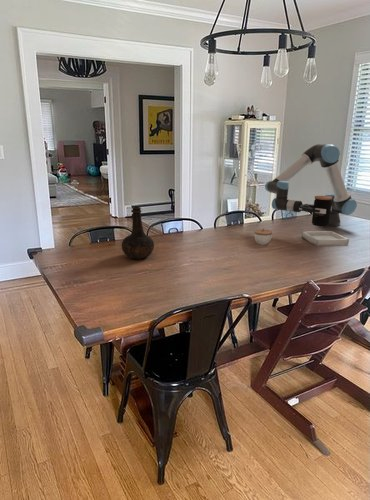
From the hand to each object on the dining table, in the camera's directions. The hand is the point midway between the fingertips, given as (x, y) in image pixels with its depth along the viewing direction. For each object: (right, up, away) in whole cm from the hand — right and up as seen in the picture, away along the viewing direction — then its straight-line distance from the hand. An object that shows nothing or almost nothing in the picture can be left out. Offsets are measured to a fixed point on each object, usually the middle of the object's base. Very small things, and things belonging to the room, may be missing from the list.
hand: (328, 210), depth 235 cm
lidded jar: (-42, -21, -1) cm, 47 cm away
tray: (-1, -19, +6) cm, 20 cm away
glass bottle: (-117, -29, -28) cm, 123 cm away
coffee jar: (-3, -9, +5) cm, 11 cm away
